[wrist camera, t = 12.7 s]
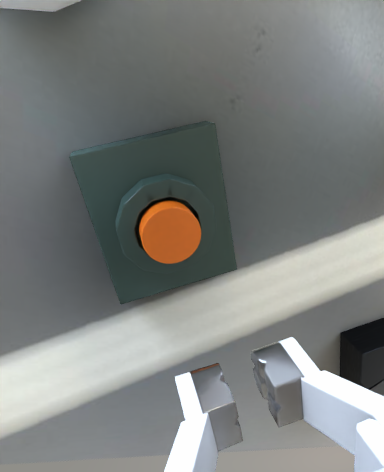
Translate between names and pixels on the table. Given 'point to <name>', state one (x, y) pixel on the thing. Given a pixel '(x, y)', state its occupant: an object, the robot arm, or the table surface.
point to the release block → (149, 193)
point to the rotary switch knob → (379, 388)
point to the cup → (37, 4)
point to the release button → (169, 232)
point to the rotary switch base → (363, 354)
